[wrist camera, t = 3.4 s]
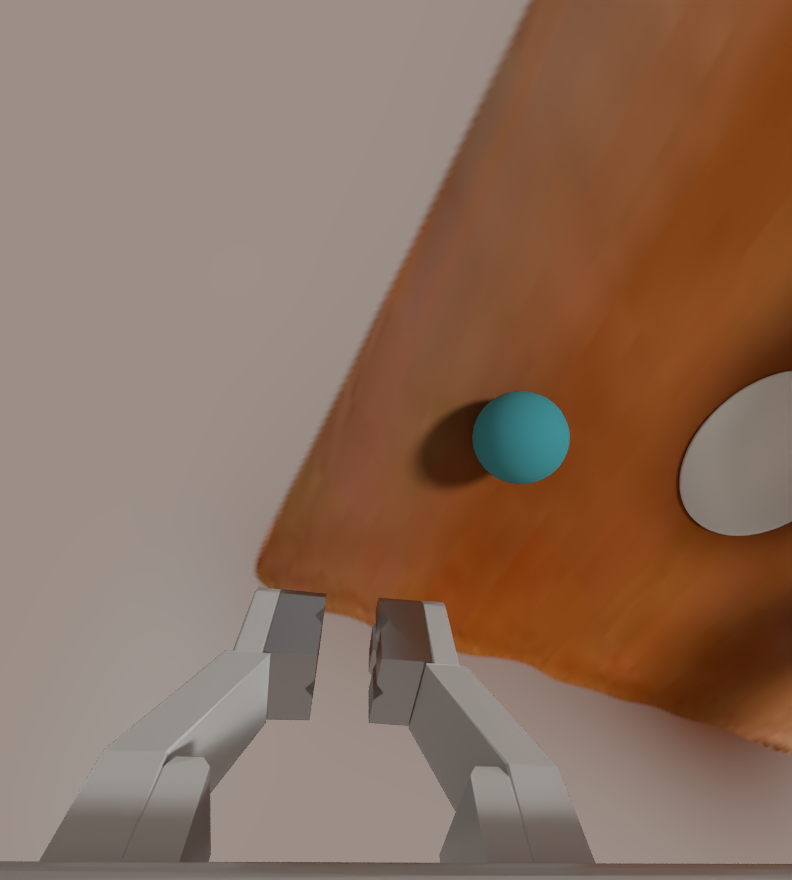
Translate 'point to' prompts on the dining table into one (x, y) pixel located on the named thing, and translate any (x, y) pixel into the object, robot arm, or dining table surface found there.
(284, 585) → the dining table surface
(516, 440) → the ball
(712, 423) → the disc
